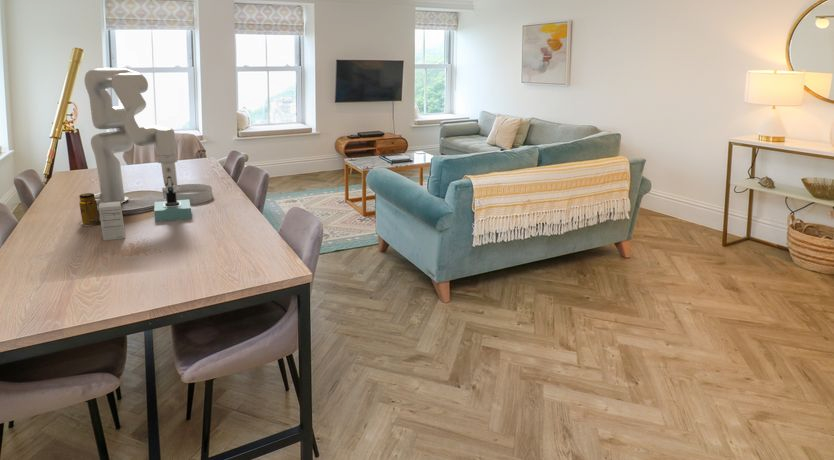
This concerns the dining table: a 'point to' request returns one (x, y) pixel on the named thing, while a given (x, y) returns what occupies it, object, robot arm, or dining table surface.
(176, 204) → the bolt
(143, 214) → the dining table surface
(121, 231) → the supplement box
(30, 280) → the dining table surface
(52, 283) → the dining table surface
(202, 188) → the dish
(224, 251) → the dining table surface
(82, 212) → the condiment
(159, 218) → the dock
